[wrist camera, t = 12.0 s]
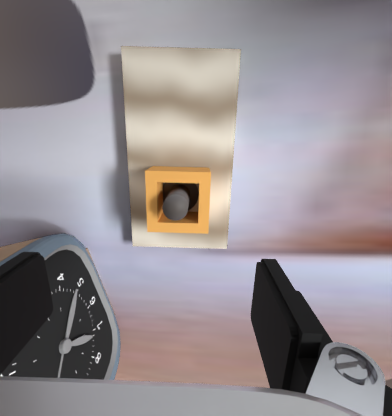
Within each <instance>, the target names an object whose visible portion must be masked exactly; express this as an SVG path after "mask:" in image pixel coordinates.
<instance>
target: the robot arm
mask: <svg viewBox="0 0 392 416" xmlns="http://www.w3.org/2000/svg"><path fill="white" fill-rule="evenodd" d="M52 312H53V302H52V297H51V292H50V286H49V281H48V276H47V270H46V265H45V259H44V257H43V256H42V255H41V254H40V253H39V252H22V253H20V254H18V255H17V256H15V257H14V258H12V259H10V260H9V261H7V262H6V263H4V264H3V265H1V266H0V375H1V374H2V373H3V371H4V370H5V369H6V368H7V367H8V365H9V364H10V363H11V362H12V361H13V360H14V358H15V357H16V356H17V355H18V354H19V352H20V351H21V350H22V349H23V348H24V346H25V345H26V344H27V343H28V342H29V341H30V339H31V338H32V337H33V336H34V335H35V333H36V332H37V331H38V330H39V329H40V327H41V326H42V325H43V324H44V323H45V322H46V320H47V319H48V318H49V317H50V316H51V314H52ZM251 321H252V325H253V329H254V332H255V336H256V339H257V343H258V346H259V350H260V353H261V357H262V360H263V364H264V367H265V371H266V375H267V378H268V382H269V385H270V388H263V387H251V386H235V385H218V384H200V383H176V382H151V381H127V380H99V379H71V378H41V377H9V376H0V416H392V389H391V388H390V387H388V386H386V385H385V378H384V374H383V372H382V370H381V369H380V367H379V366H378V365H377V364H376V362H375V361H374V360H373V359H372V358H371V357H369V356H368V355H367V354H366V353H364V352H363V351H361V350H359V349H357V348H356V347H353V346H351V345H348V344H345V343H340V342H333V341H332V340H331V338H330V337H329V335H328V334H327V332H326V331H325V329H324V328H323V326H322V325H321V323H320V322H319V320H318V319H317V317H316V315H315V314H314V312H313V311H312V309H311V308H310V306H309V305H308V303H307V302H306V300H305V299H304V297H303V296H302V294H301V293H300V292H299V291H296V290H295V289H294V287H293V286H292V284H291V283H290V281H289V279H288V278H287V276H286V275H285V273H284V271H283V270H282V268H281V267H280V265H279V264H278V262H277V260H276V259H262V260H261V262H257V265H256V273H255V282H254V291H253V299H252V308H251Z"/></svg>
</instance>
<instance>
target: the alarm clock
mask: <svg viewBox="0 0 392 416" xmlns="http://www.w3.org/2000/svg"><path fill="white" fill-rule="evenodd" d="M22 252H39V253H40V254H41V255H42V256H43V257H44V259H45V265H46V270H47V276H48V281H49V286H50V292H51V297H52V302H53V312H52V314H51V316H50V317H49V318H48V319H47V320H46V322H45V323H44V324H43V325H42V326H41V327H40V329H39V330H38V331H37V332H36V333H35V335H34V336H33V337H32V338H31V339H30V341H29V342H28V343H27V344H26V345H25V346H24V348H23V349H22V350H21V351H20V352H19V354H18V355H17V356H16V357H15V358H14V360H13V361H12V362H11V363H10V364H9V365H8V367H7V368H6V369H5V370H4V371H3V373H2V374H1V375H0V376H9V377H41V378H71V379H99V380H114V378H115V375H116V372H117V368H118V363H119V357H120V332H119V328H118V325H117V321H116V318H115V313H114V311H113V309H112V306H111V304H110V301H109V299H108V296H107V294H106V292H105V289H104V287H103V284H102V282H101V280H100V277H99V275H98V272H97V270H96V268H95V265H94V263H93V260H92V258H91V256H90V253H89V251H88V248H85V247H84V245H83V244H82V243H81V242H80V241H78V240H77V239H76V238H75V237H74V236H71V235H68V234H63V233H62V234H55V235H49V236H45V237H41V238H36V239H32V240H28V241H24V242H19V243H15V244H11V245H6V246H2V247H0V266H1V265H3V264H4V263H6V262H7V261H9V260H10V259H12V258H14V257H15V256H17V255H18V254H20V253H22Z"/></svg>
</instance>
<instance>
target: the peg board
mask: <svg viewBox="0 0 392 416" xmlns="http://www.w3.org/2000/svg"><path fill="white" fill-rule="evenodd" d="M121 55H122V72H123V89H124V106H125V123H126V140H127V157H128V174H129V191H130V208H131V225H132V242H133V246H143V247H180V248H216V249H227V239H228V225H229V211H230V197H231V183H232V168H233V154H234V140H235V126H236V112H237V97H238V83H239V69H240V55H241V49H215V48H176V47H137V46H121ZM152 166H168V167H206V168H210V171H211V186H210V209H209V232H208V234H202V233H164V232H147V211H146V185H145V170H147V169H149V168H150V167H152ZM198 202H199V183H167V182H163V206H162V209H163V213H164V215H165V216H166V217H167V218H168V219H170V220H175V221H177V220H181V219H183V218H184V217H185V216H186V214H187V212H198Z"/></svg>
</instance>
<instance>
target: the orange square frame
mask: <svg viewBox="0 0 392 416" xmlns="http://www.w3.org/2000/svg"><path fill="white" fill-rule="evenodd" d="M163 182H167V183H199V202H198V212H187V214H186V216H185V217H184V218H183V219H181V220H177V221H175V220H170V219H168V218H167V217H166V216H165V215H164V213H163V209H162V206H163ZM145 185H146V211H147V232H164V233H202V234H208V232H209V209H210V186H211V171H210V168H206V167H168V166H152V167H150V168H149V169H147V170H145Z"/></svg>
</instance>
